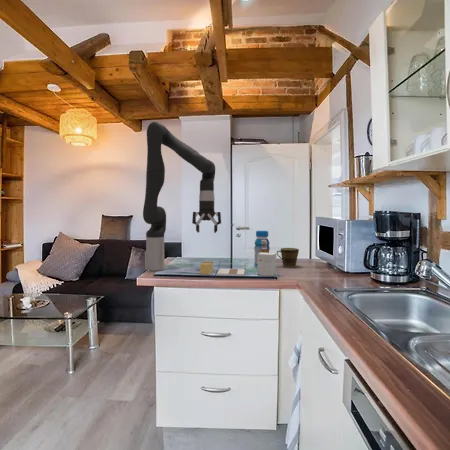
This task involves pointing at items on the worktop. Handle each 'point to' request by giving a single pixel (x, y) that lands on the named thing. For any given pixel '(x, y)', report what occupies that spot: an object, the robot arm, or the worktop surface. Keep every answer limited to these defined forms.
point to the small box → (266, 264)
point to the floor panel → (231, 272)
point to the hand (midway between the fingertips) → (206, 232)
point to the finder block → (206, 267)
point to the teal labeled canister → (261, 244)
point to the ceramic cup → (289, 257)
